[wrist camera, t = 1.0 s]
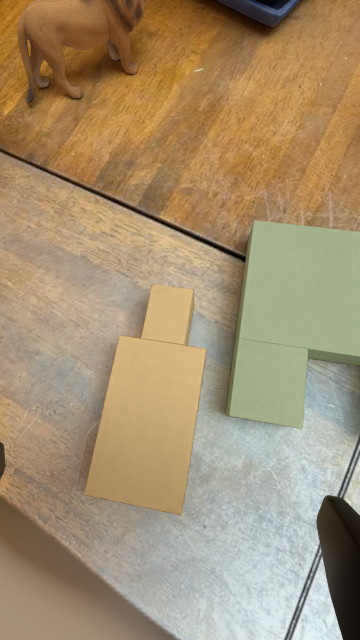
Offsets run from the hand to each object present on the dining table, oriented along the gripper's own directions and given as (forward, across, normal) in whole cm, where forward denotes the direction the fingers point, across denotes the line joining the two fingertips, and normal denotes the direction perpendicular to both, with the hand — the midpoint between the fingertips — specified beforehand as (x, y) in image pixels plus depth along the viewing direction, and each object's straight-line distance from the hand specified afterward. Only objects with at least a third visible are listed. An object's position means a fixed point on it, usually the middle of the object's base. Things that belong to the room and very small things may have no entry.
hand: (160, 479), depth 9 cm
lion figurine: (+32, +13, -18) cm, 39 cm away
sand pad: (+14, +1, +6) cm, 15 cm away
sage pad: (+16, -11, 0) cm, 19 cm away
